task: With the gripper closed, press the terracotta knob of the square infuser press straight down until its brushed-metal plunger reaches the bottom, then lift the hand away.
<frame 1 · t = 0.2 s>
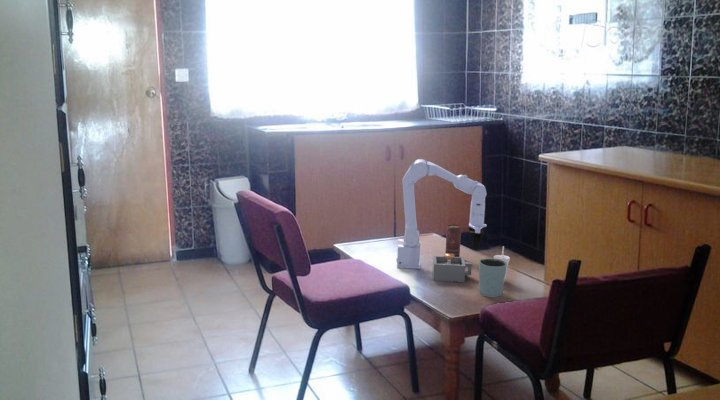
hand: (474, 246, 296), 10 cm above the table, fingers open, 7 cm apart
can: (452, 257, 315), on the table
plunger: (449, 260, 287), point 6 cm above the table, slide at 0.0 cm
teal plant pot: (490, 294, 269), on the table
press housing: (448, 276, 288), on the table
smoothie: (499, 281, 284), on the table
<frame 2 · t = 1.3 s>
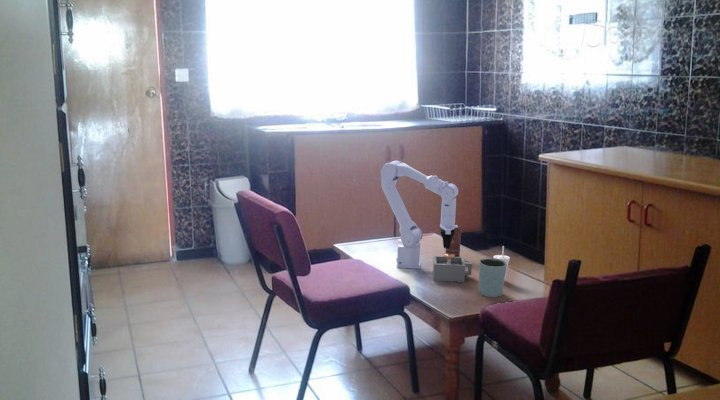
hand: (446, 247, 293), 10 cm above the table, fingers closed
nothing on the table moved.
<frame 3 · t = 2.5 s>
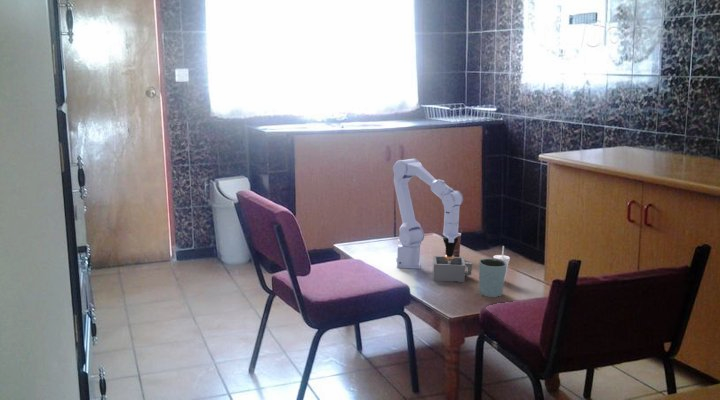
hand: (449, 255, 286), 8 cm above the table, fingers closed, pressing on plunger
plunger: (449, 262, 287), point 6 cm above the table, slide at 0.5 cm, touching gripper
everything else where it was.
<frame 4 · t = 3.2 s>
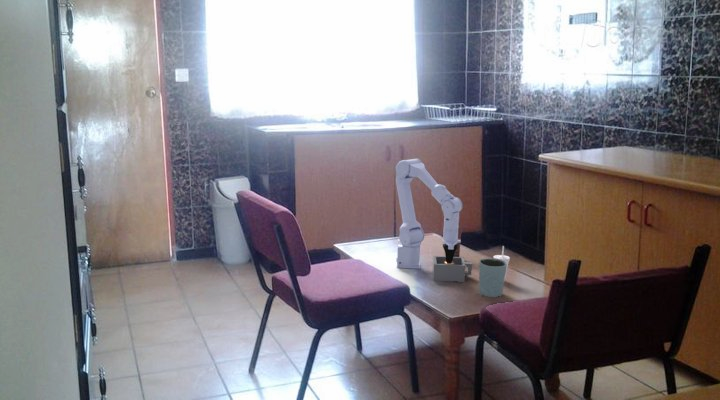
hand: (449, 262, 287), 6 cm above the table, fingers closed, pressing on plunger
plunger: (448, 268, 287), point 3 cm above the table, slide at 3.2 cm, touching gripper
everything else where it was.
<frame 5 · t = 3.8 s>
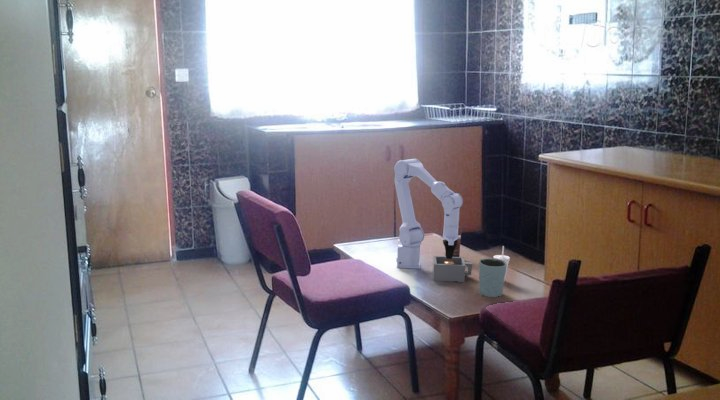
hand: (449, 258, 286), 7 cm above the table, fingers closed
plunger: (448, 268, 287), point 3 cm above the table, slide at 3.2 cm
everything else where it was.
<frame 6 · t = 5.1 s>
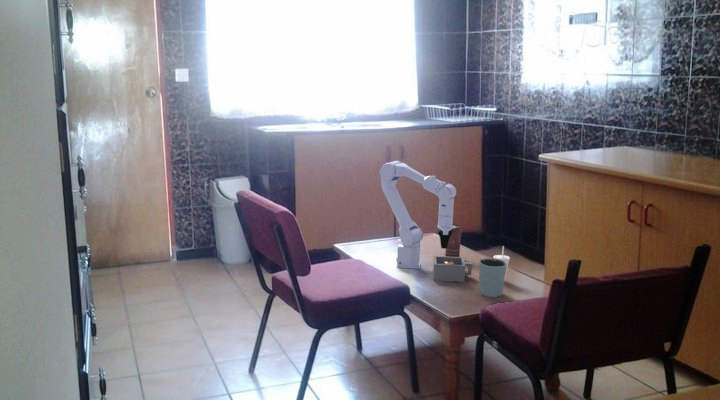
hand: (443, 248, 292), 10 cm above the table, fingers closed
nothing on the table moved.
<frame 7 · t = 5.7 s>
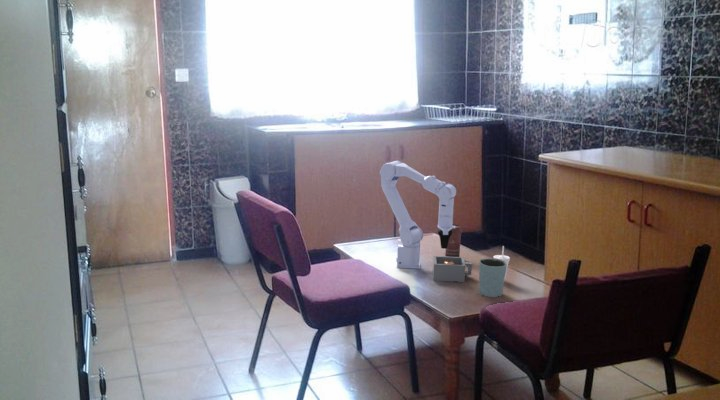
hand: (443, 248, 292), 10 cm above the table, fingers closed
nothing on the table moved.
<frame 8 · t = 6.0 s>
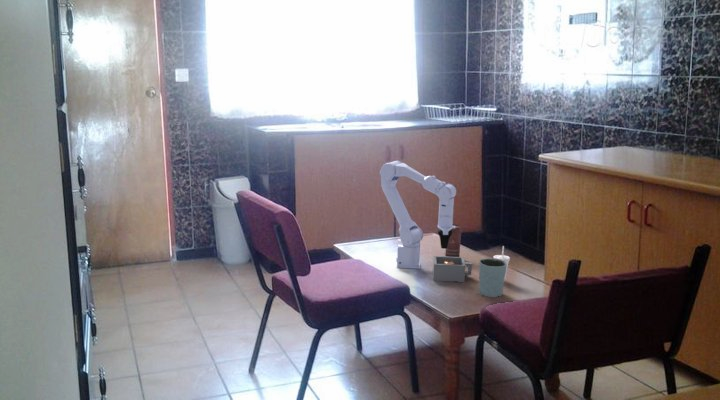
hand: (443, 248, 292), 10 cm above the table, fingers closed
nothing on the table moved.
at the end: plunger slide at 3.2 cm; the gripper is holding nothing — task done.
